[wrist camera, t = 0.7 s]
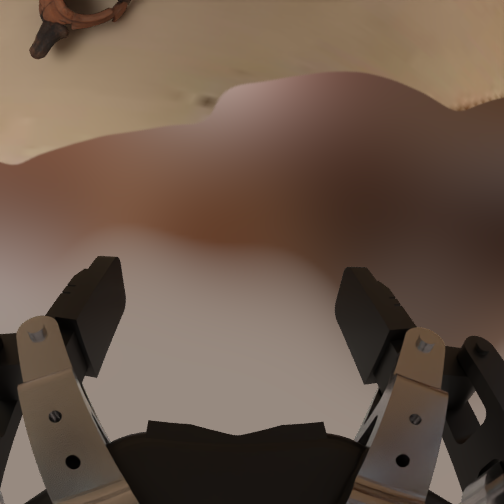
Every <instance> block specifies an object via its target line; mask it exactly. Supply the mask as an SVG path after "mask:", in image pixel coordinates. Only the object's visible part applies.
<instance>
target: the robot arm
mask: <svg viewBox="0 0 504 504" xmlns="http://www.w3.org/2000/svg"><path fill="white" fill-rule="evenodd" d="M125 303H126V296H125V289H124V283H123V276H122V269H121V263H120V260H119V258H118V257H107V256H98V257H97V258H96V259H95V260H94V262H93V263H92V264H91V266H90V267H89V268H88V269H84V270H82V271H81V272H79V273H78V274H76V275H75V276H74V277H73V278H72V279H71V281H70V282H69V283H68V286H66V288H65V289H64V290H63V293H61V294H60V295H59V297H58V298H57V300H56V301H55V302H54V304H53V305H52V307H51V308H50V309H49V311H48V312H47V314H46V315H45V316H36V317H33V318H31V319H29V320H27V321H25V322H24V323H23V324H22V325H21V326H20V327H19V329H18V331H17V333H13V334H0V487H1V482H2V478H3V474H4V471H5V467H6V463H7V460H8V456H9V453H10V450H11V447H12V443H13V440H14V437H15V434H16V431H17V429H18V426H19V423H20V420H21V417H22V415H23V418H24V422H25V426H26V430H27V433H28V437H29V440H30V444H31V447H32V450H33V454H34V456H35V460H36V463H37V465H38V468H39V471H40V474H41V476H42V479H43V482H44V484H45V487H46V489H45V490H44V491H42V492H41V493H39V494H38V495H37V496H35V497H34V498H32V499H31V500H29V501H28V502H26V503H25V504H452V503H450V502H448V501H446V500H445V499H443V498H441V497H440V496H438V495H437V494H435V493H433V492H432V491H430V490H429V486H430V483H431V480H432V476H433V472H434V469H435V465H436V461H437V457H438V452H439V448H440V444H441V439H442V438H443V440H444V443H445V445H446V448H447V450H448V453H449V455H450V458H451V461H452V463H453V466H454V469H455V472H456V474H457V477H458V480H459V483H460V486H461V489H462V492H463V495H462V502H461V503H459V504H504V361H503V359H502V358H501V356H500V355H499V354H498V352H497V351H496V349H495V348H494V347H493V345H492V344H491V343H489V342H488V341H487V340H485V339H483V338H481V337H478V336H470V337H468V338H467V339H466V340H465V342H464V344H463V345H462V347H461V348H456V347H449V346H445V344H444V342H443V340H442V339H441V338H440V337H439V336H438V335H437V334H436V333H434V332H433V331H431V330H428V329H425V328H420V327H416V325H415V324H414V322H413V321H412V320H411V318H410V317H409V315H408V314H407V312H406V311H405V310H404V308H403V307H402V306H400V303H399V301H398V300H397V299H395V296H394V295H393V293H392V292H391V291H390V289H389V288H387V287H386V286H385V285H384V284H382V283H381V282H379V281H377V280H376V279H375V278H374V276H373V275H372V274H371V272H370V271H369V270H368V269H367V268H365V267H347V268H346V269H345V270H344V273H343V276H342V281H341V284H340V288H339V292H338V296H337V299H336V303H335V315H336V320H337V322H338V324H339V326H340V329H341V331H342V333H343V336H344V338H345V340H346V342H347V345H348V347H349V349H350V352H351V354H352V356H353V359H354V361H355V364H356V366H357V368H358V371H359V373H360V376H361V378H362V380H363V383H364V384H372V383H377V384H378V386H379V387H378V389H377V391H376V393H375V395H374V398H373V400H372V402H371V405H370V407H369V410H368V412H367V414H366V416H365V418H364V421H363V423H362V425H361V427H360V429H359V431H358V433H357V435H356V437H355V439H354V440H351V439H349V438H346V437H343V436H339V435H334V434H328V433H326V430H325V426H324V423H323V422H317V423H306V424H292V425H281V426H277V427H273V428H269V429H266V430H262V431H258V432H253V433H249V434H245V435H238V436H237V435H230V434H226V433H222V432H218V431H214V430H210V429H206V428H202V427H199V426H195V425H191V424H178V423H168V422H159V421H150V420H149V421H148V426H147V432H141V433H136V434H131V435H128V436H125V437H122V438H119V439H117V440H114V441H112V442H110V440H109V438H108V436H107V435H106V433H105V431H104V429H103V427H102V425H101V423H100V421H99V419H98V417H97V415H96V413H95V411H94V409H93V407H92V404H91V402H90V400H89V398H88V395H87V393H86V391H85V389H84V386H83V384H82V381H83V379H84V376H90V377H96V378H97V376H98V374H99V371H100V368H101V366H102V363H103V360H104V358H105V355H106V353H107V350H108V348H109V346H110V343H111V341H112V338H113V336H114V333H115V331H116V329H117V326H118V324H119V321H120V319H121V316H122V315H123V312H124V309H125ZM475 391H476V392H477V394H478V395H479V397H480V399H481V400H482V403H483V404H484V406H485V408H486V419H485V421H484V423H483V424H482V425H481V426H480V424H479V422H478V420H477V418H476V416H475V414H474V412H473V410H472V408H471V406H470V404H469V402H468V399H469V398H470V397H471V396H472V395H473V393H474V392H475ZM0 504H5V503H4V501H3V496H2V493H1V491H0Z"/></svg>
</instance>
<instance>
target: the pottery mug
mask: <svg viewBox="0 0 504 504" xmlns="http://www.w3.org/2000/svg"><path fill="white" fill-rule="evenodd" d="M130 1H131V0H118V2H117V3H116V4H115V6H114V7H113V8H107V9H105V10H104V11H101V12H99V13H96V14H88V15H85V14H79V13H75V12H73V11H71V10H70V9H69V8H68V7H67V6H66V4H65V2H64V0H39V12H40V17H41V19H42V21H43V23H42V25H41V27H40V30H39V32H38V33H37V35H36V38H35V41H34V43H33V44H32V46H31V47H30V50H29V51H30V54H31V56H32V57H33V58H35V59H41V58H43V57H45V56H46V55H47V53H48V52H49V50H50V49H51V47H52V46H53V45H54V44H55V43H56V42H57V41H58V40H60V39H63V38H66V37H67V36H68V35H69V32H68V29H67V27H66V26H64V25H63V24H71V29H81V28H88V27H92V26H95V25H99V24H102V23H104V22H107V21H108V20H110V19H112V18H113V20H112V22H116V21H117V20H118V19H119V18H120V17H121V16H122V14H123V13H124V12H125V10H126V9H127V5H128V4H129V3H130Z"/></svg>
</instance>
